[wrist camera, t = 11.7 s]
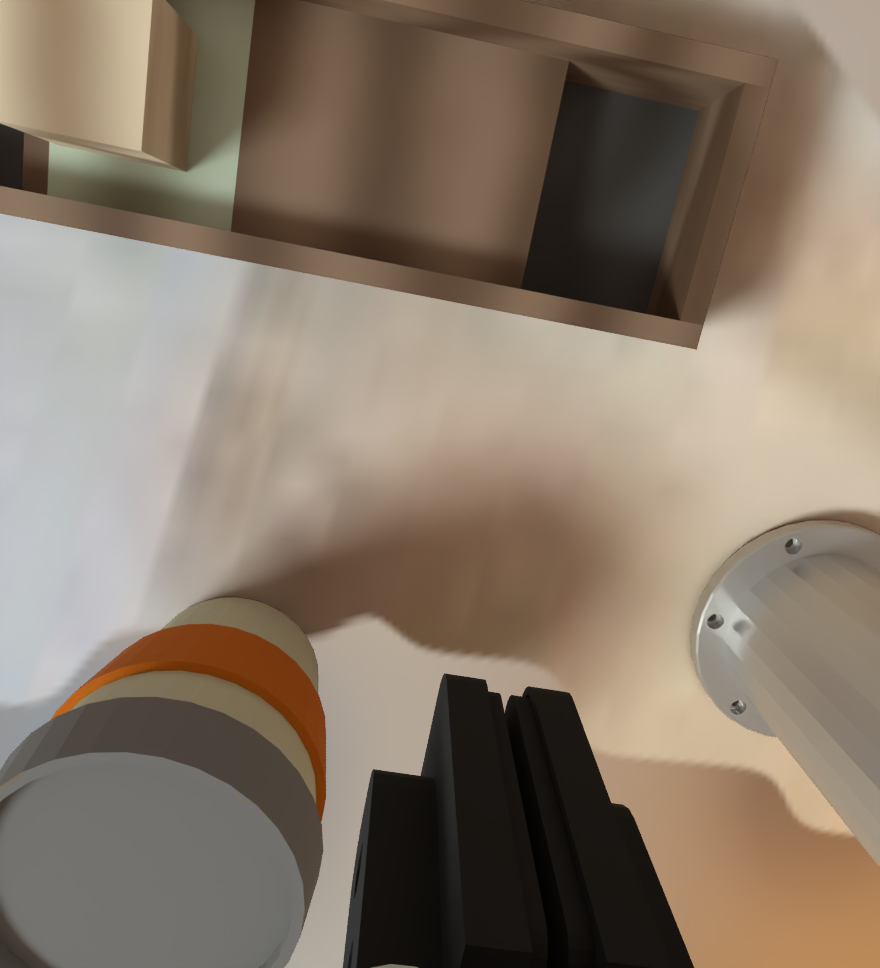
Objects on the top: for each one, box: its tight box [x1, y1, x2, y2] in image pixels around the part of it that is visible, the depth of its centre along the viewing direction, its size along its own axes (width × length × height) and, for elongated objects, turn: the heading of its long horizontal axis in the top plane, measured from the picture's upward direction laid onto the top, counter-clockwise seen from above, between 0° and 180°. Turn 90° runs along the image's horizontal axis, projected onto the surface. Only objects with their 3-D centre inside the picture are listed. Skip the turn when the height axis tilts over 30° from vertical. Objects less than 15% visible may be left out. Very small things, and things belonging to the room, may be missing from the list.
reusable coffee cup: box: [0, 597, 326, 968], centre depth 32 cm, size 13×13×15 cm
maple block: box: [0, 0, 199, 172], centre depth 26 cm, size 5×5×5 cm
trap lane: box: [0, 0, 778, 349], centre depth 30 cm, size 36×11×5 cm, turn 79°
